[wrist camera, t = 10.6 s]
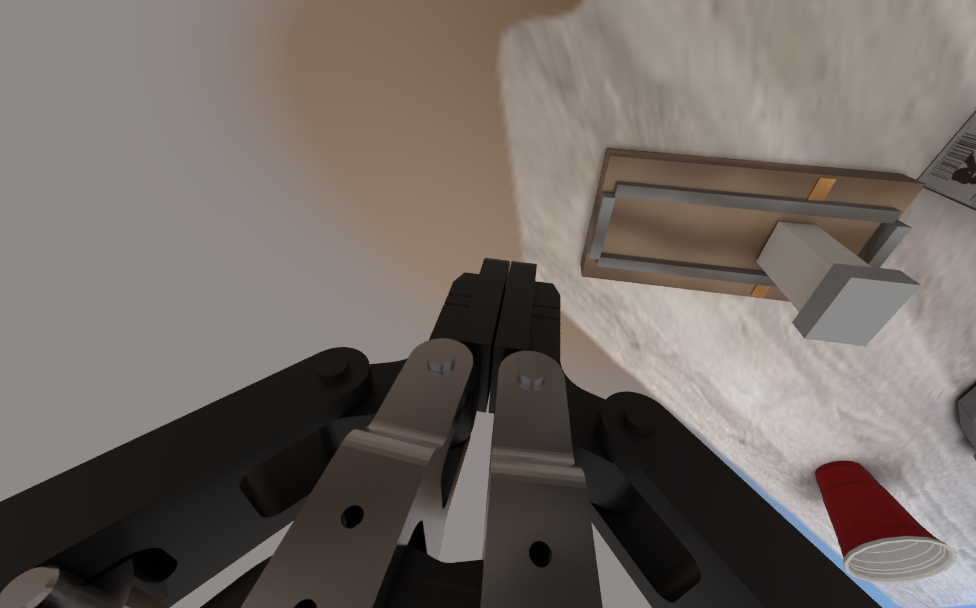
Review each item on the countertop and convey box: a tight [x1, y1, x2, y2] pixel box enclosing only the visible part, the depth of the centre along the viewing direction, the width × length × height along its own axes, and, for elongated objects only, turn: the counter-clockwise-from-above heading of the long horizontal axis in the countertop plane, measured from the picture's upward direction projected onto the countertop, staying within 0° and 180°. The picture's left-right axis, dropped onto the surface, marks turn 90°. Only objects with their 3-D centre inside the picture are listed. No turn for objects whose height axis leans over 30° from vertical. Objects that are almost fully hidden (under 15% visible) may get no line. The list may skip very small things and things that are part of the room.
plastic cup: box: [815, 461, 957, 583], centre depth 49 cm, size 11×11×12 cm
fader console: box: [581, 148, 925, 301], centre depth 34 cm, size 12×24×4 cm, turn 87°
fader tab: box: [756, 221, 921, 346], centre depth 29 cm, size 5×4×10 cm
